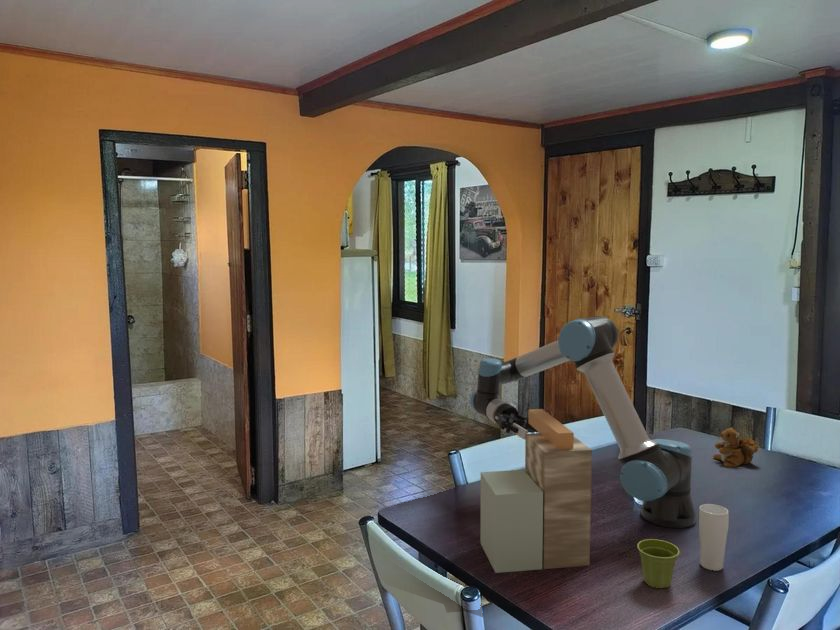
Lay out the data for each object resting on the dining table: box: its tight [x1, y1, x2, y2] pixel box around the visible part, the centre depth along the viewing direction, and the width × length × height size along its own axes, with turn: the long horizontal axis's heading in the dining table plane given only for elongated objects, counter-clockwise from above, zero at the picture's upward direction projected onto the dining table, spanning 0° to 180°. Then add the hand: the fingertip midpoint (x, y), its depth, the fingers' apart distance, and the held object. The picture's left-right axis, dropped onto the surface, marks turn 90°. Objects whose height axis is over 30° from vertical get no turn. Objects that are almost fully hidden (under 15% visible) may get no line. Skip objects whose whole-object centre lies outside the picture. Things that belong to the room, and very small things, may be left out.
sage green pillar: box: [480, 469, 543, 574], centre depth 163 cm, size 16×12×20 cm
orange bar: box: [528, 408, 575, 449], centre depth 168 cm, size 24×4×4 cm, turn 8°
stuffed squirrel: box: [713, 427, 760, 468], centre depth 233 cm, size 10×14×13 cm
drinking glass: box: [698, 503, 730, 572], centre depth 157 cm, size 7×7×15 cm
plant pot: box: [636, 538, 680, 589], centre depth 150 cm, size 9×9×9 cm
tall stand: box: [524, 432, 593, 570], centre depth 164 cm, size 16×12×30 cm
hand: (543, 437), depth 187 cm, fingers open, 13 cm apart
